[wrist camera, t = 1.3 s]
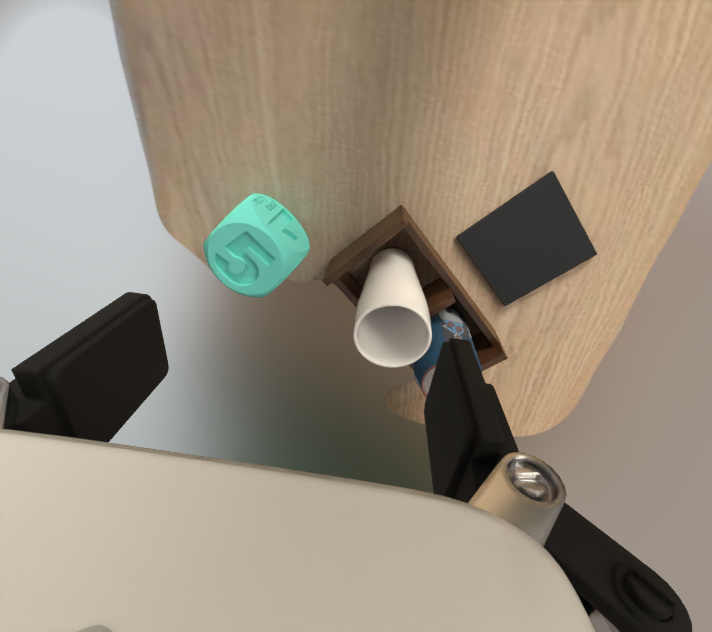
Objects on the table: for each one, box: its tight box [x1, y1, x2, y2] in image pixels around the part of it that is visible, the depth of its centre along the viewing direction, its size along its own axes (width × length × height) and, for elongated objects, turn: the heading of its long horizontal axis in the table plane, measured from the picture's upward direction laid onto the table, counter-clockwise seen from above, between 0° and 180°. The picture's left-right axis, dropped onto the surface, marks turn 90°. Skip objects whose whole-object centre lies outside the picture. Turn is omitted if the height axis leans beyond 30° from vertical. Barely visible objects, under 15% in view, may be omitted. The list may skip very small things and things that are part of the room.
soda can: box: [414, 306, 482, 397], centre depth 40 cm, size 7×7×12 cm
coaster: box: [457, 171, 597, 306], centre depth 39 cm, size 11×11×1 cm
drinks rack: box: [323, 205, 507, 371], centre depth 41 cm, size 11×20×6 cm, turn 39°
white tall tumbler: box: [353, 248, 432, 367], centre depth 36 cm, size 7×7×15 cm
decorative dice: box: [204, 193, 310, 297], centre depth 38 cm, size 8×8×8 cm
